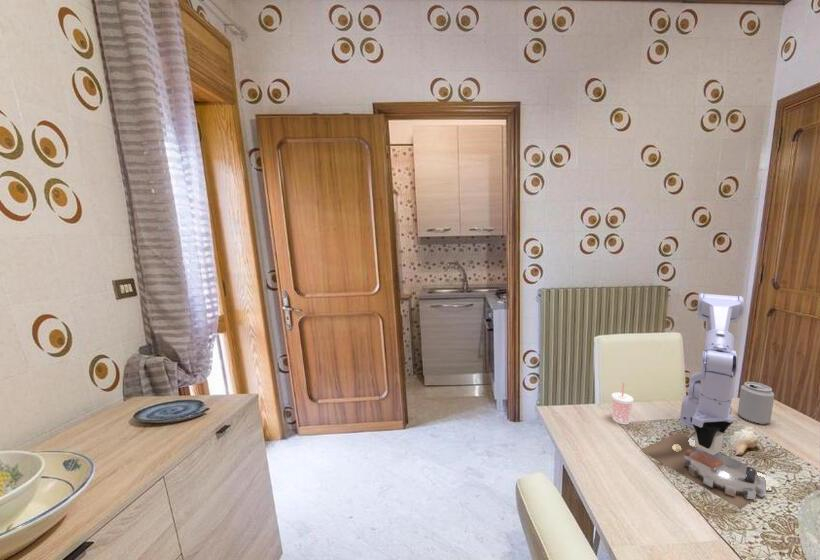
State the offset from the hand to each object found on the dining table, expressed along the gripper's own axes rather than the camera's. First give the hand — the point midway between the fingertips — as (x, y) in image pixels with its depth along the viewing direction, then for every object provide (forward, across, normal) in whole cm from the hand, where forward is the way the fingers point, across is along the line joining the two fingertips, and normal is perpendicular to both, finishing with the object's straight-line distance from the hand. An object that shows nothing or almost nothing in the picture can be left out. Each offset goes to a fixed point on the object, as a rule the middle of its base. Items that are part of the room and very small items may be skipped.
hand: (708, 443), depth 85 cm
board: (+8, +1, +1) cm, 8 cm away
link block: (+1, 0, 0) cm, 1 cm away
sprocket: (+8, 0, -3) cm, 8 cm away
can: (+8, +41, +6) cm, 42 cm away
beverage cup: (+8, +1, +24) cm, 25 cm away
